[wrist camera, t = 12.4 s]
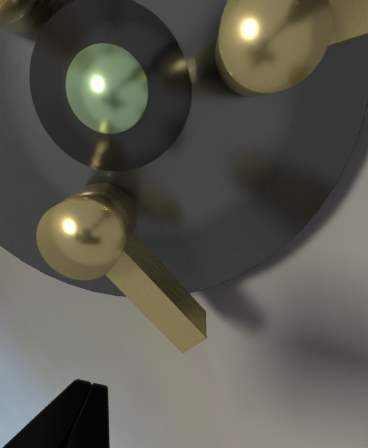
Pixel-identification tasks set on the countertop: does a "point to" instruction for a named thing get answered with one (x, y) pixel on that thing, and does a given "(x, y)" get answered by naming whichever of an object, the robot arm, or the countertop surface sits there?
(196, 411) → the countertop surface
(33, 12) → the knob
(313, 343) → the countertop surface
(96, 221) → the knob
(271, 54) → the knob
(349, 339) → the countertop surface
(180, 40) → the tribrach plate
